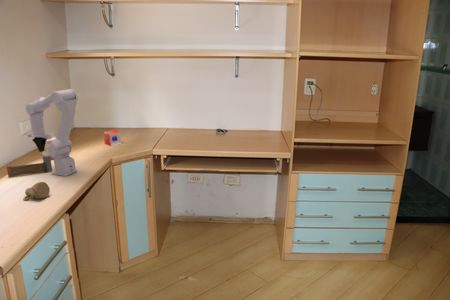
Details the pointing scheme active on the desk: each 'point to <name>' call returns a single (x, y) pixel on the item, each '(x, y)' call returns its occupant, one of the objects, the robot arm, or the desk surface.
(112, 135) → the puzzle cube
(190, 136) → the desk surface
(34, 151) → the desk surface
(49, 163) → the gate post
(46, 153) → the ink cartridge box
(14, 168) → the brown flat bar
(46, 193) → the grey rounded lump
